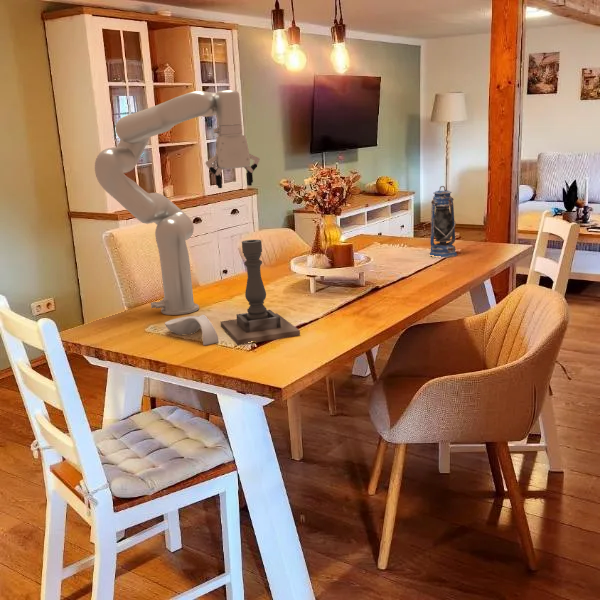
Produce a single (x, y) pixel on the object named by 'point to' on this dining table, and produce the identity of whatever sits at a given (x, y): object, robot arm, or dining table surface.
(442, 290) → the dining table surface
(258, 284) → the candle holder
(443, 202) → the lantern
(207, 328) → the spoon rest
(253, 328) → the socket board
